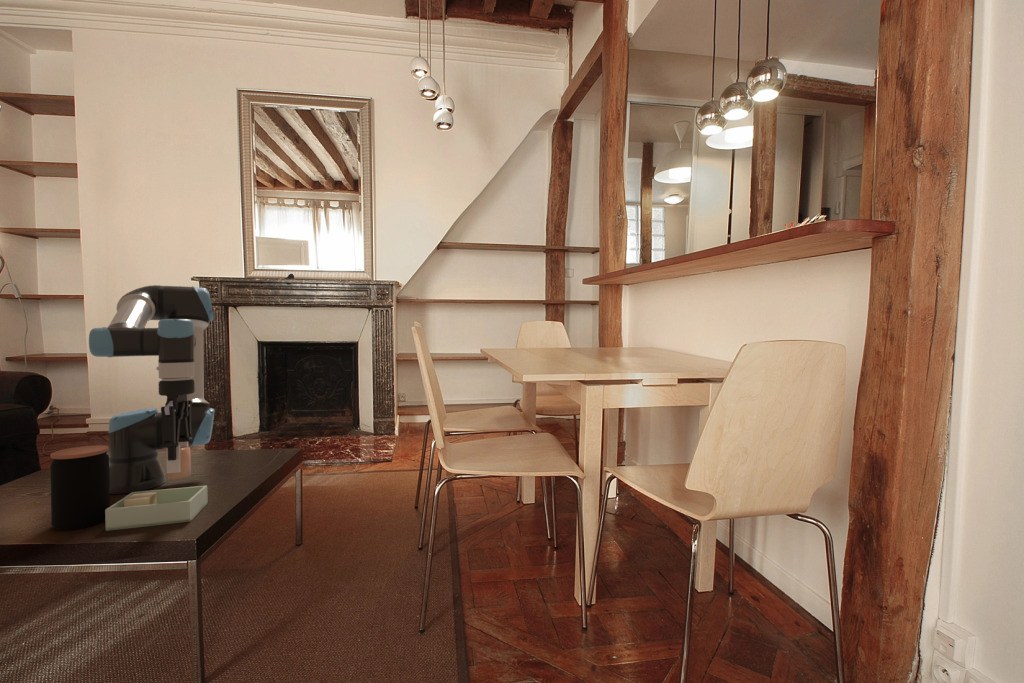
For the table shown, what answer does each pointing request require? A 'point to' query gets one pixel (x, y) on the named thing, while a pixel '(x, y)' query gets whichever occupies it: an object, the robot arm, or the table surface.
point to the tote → (158, 508)
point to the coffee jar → (79, 486)
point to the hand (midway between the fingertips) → (178, 469)
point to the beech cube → (141, 499)
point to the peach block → (182, 464)
